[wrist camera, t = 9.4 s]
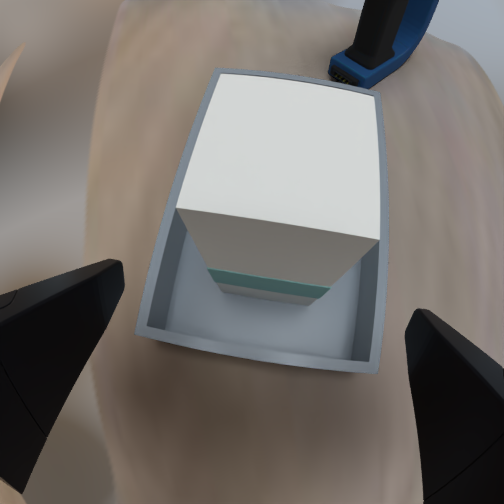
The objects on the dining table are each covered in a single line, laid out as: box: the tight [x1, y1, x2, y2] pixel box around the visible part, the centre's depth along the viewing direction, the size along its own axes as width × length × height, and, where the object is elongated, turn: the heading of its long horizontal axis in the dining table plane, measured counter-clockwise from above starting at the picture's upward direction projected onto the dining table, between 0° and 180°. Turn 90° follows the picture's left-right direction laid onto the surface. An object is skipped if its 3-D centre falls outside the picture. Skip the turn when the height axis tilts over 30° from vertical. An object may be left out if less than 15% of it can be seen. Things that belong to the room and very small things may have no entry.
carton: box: [176, 74, 380, 306], centre depth 15 cm, size 6×6×12 cm
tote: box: [134, 68, 389, 374], centre depth 20 cm, size 20×13×4 cm, turn 170°
